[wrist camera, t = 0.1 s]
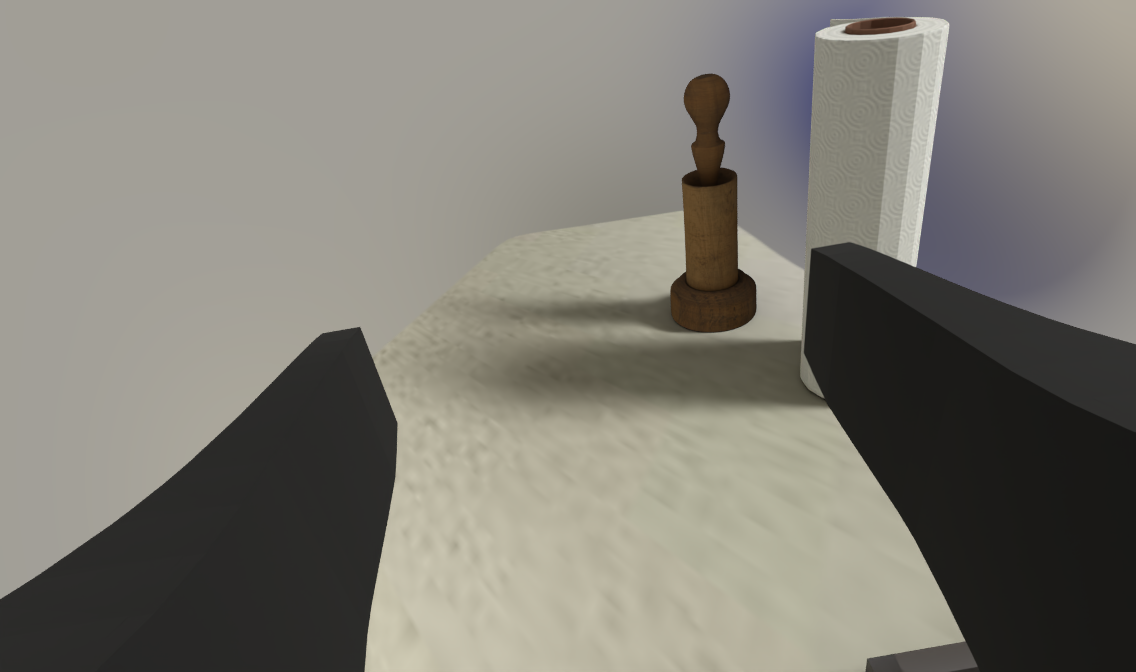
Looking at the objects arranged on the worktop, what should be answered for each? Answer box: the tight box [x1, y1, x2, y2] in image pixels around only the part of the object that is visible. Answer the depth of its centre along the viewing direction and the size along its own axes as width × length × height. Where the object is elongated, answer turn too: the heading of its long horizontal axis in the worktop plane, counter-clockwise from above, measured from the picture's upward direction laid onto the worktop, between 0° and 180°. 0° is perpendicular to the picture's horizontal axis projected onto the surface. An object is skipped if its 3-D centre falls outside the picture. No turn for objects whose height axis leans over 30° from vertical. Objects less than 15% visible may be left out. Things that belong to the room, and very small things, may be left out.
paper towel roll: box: [800, 17, 949, 398], centre depth 39 cm, size 7×6×21 cm
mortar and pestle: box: [671, 74, 756, 332], centre depth 49 cm, size 7×6×18 cm
